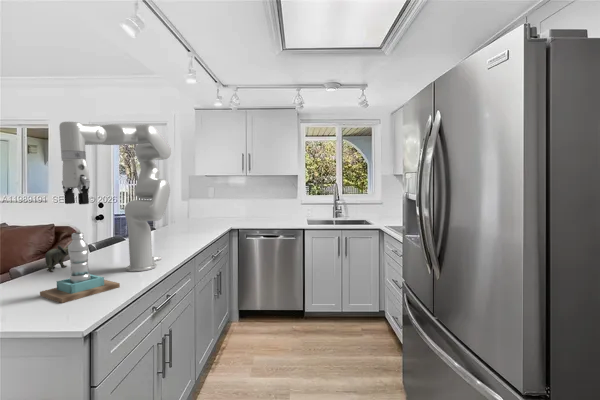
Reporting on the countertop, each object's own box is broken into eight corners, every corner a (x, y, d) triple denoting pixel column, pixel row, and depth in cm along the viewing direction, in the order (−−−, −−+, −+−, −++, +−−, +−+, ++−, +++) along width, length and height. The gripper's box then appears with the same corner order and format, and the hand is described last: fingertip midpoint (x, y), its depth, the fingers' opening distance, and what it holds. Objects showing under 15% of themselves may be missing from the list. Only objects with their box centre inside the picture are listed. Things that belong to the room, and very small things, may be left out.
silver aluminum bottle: (81, 290, 127) (78, 234, 126) (65, 289, 128) (62, 234, 127) (95, 284, 133) (92, 232, 132) (80, 284, 135) (76, 232, 133)
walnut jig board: (96, 281, 143) (96, 270, 143) (119, 287, 135) (119, 275, 135) (40, 295, 126) (39, 283, 126) (62, 303, 118) (61, 290, 118)
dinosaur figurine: (46, 276, 154) (44, 250, 153) (27, 276, 154) (25, 250, 153) (78, 264, 175) (77, 241, 175) (61, 264, 176) (60, 241, 175)
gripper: (97, 156, 127) (100, 203, 128) (72, 158, 136) (75, 202, 137) (75, 155, 121) (78, 205, 122) (50, 157, 130) (53, 204, 131)
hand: (76, 203), depth 129 cm, fingers open, 9 cm apart
